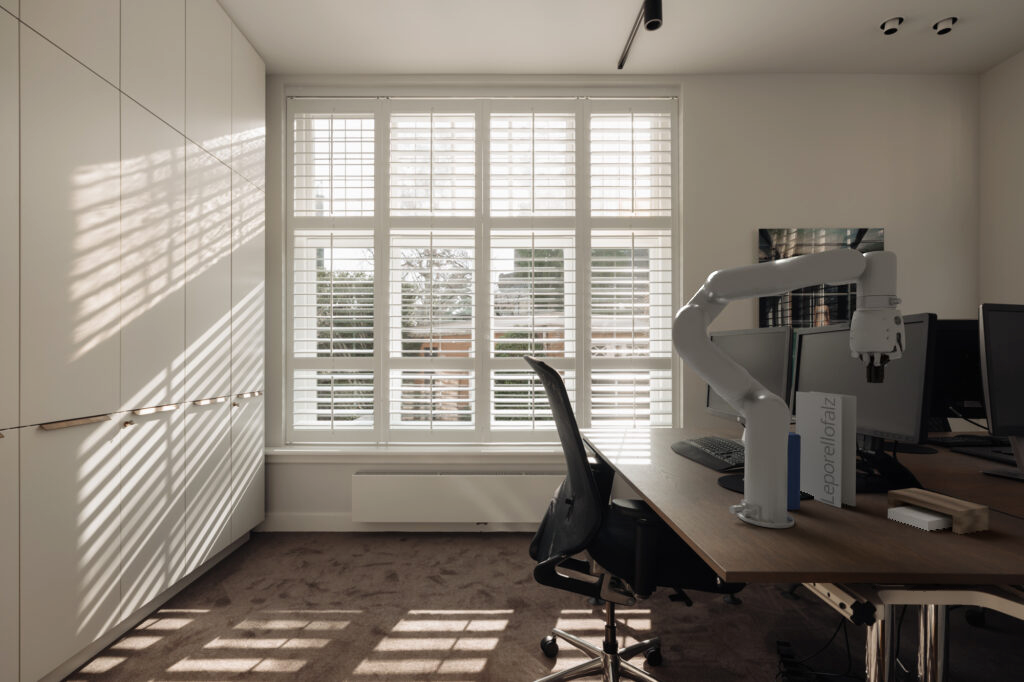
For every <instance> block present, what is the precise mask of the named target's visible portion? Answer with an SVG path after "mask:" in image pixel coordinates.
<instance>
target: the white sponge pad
mask: <svg viewBox="0 0 1024 682" xmlns="http://www.w3.org/2000/svg"><path fill="white" fill-rule="evenodd" d="M889 518H890V519H889ZM887 519H889V520H892V519H893V520H892V521H895V520H896V521H895V522H898V521H899V522H898V523H901V522H902V523H901V524H904V523H906V524H905V525H907V524H909V525H908V526H910V525H912V526H911V527H913V526H915V527H914V528H916V527H918V528H917V529H919V528H921V529H920V530H922V529H924V530H923V531H925V530H927V531H926V532H931V531H930V530H933V531H937V530H936V529H939V530H944V529H943V528H945V529H950V528H949V527H952V528H953V515H949V514H946V513H943V512H939V511H936V510H932V509H929V508H925V507H922V506H918V505H912V506H905V507H898V508H890V509H888V508H887Z"/></svg>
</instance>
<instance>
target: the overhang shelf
mask: <svg viewBox="0 0 1024 682" xmlns="http://www.w3.org/2000/svg"><path fill="white" fill-rule="evenodd" d="M912 505H918V506H922V507H925V508H929V509H932V510H936V511H939V512H943V513H946V514H949V515H953V527H952V533H953V532H955V533H954V534H956V533H958V534H957V535H959V534H962V535H965V534H964V533H968V534H971V533H970V532H973V533H977V532H976V531H979V532H984V531H983V530H985V531H988V530H989V516H990V515H989V514H990V513H989V512H990V511H989V509H990V508H989V506H987V505H983V504H980V503H979V504H978V503H975V502H971V501H967V500H963V499H960V498H956V497H951V496H948V495H944V494H940V493H936V492H933V491H932V492H931V491H928V490H925V489H920V488H917V487H910V488H902V489H897V490H895V489H894V490H888V491H887V510H888V509H890V508H898V507H905V506H912Z"/></svg>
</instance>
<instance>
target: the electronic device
mask: <svg viewBox="0 0 1024 682" xmlns="http://www.w3.org/2000/svg"><path fill="white" fill-rule="evenodd" d="M800 462H801V436H800V435H799V434H796V432H791V431H789V435H788V473H787V511H797V510H798V511H799V510H800V508H801V494H800Z"/></svg>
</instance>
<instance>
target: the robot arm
mask: <svg viewBox="0 0 1024 682" xmlns="http://www.w3.org/2000/svg"><path fill="white" fill-rule="evenodd" d="M897 261H898V257H897V254H896V253H895V252H893V251H890V250H875V251H869V252H868V251H867V252H865V253H862V252H861V251H859V249H855V248H848V247H845V248H837V249H830V250H824V251H818V252H811V253H806V254H802V255H798V256H793V257H787V258H781V259H776V260H772V261H766V262H760V263H753V264H746V265H740V266H734V267H726V268H723V269H718V270H715V271H713V272H712V273H710V274H709V276H707V277H706V280H705V282H704V283H703V285H702V286H701V287H700V288H699V289H698V291H696V293H695V294H694V295H693V296H692V298H691V299H690V300H689V301H688V302H687V303H686V304H685V305H683V306H681V307H680V308H679V309H678V310H677V312H676V314H675V316H674V319H673V323H672V328H671V329H672V330H671V331H672V332H671V338H672V341H673V342H672V343H673V345H674V346H673V347H674V348H675V350H676V352H677V354H678V356H679V357H680V358H681V359H682V361H683V362H684V363H685V364H686V365H687V366H688V367H689V368H690V369H691V370H692V371H694V373H695V374H696V375H698V376H699V377H700V378H701V379H702V380H703V381H704V382H706V383H707V385H708V386H709V387H711V389H712V390H713V392H715V394H716V395H718V396H719V397H721V399H723V400H724V401H725V402H726V403H728V404H729V406H731V407H732V408H733V409H734V410H736V411H737V412H738V413H739V414H740V415H742V417H743V418H744V419H745V433H744V434H745V435H744V483H743V484H744V488H743V490H744V491H743V492H744V493H743V494H744V496H743V497H744V498H743V499H740V503H739V504H738V505H737V504H735V505H729V507H728V511H729V513H730V514H732V515H734V514H737V517H738V518H739V519H740V520H742V521H744V522H746V523H748V524H752V525H755V526H757V527H763V528H770V529H788V528H792V527H793V526H794V525H795V519H794V517H793V516H792V515H790V514H789V513H788V510H787V473H788V435H789V432H790V425H791V414H790V413H791V412H790V409H789V406H788V404H787V403H786V402H785V400H784V399H783V398H782V397H780V396H779V395H778V394H777V395H776V394H775V393H773V392H771V391H770V390H768V389H767V388H766V387H765V386H764V385H762V384H761V383H760V381H758V380H757V379H756V378H754V377H753V376H752V375H751V374H750V373H749V371H748V370H747V369H746V368H745V367H743V366H742V365H741V364H738V363H737V362H736V361H735V360H733V359H732V358H731V357H729V356H728V355H727V354H726V353H725V352H723V351H722V350H721V348H719V347H718V346H717V345H716V344H715V343H714V342H713V341H712V340H711V339H710V337H709V336H708V332H707V330H708V327H709V326H710V325H711V324H712V323H713V322H714V321H715V319H716V318H717V317H718V316H719V315H721V313H722V311H724V309H725V308H726V307H727V306H728V305H729V304H730V303H731V302H734V301H735V302H736V301H741V300H751V299H755V298H757V299H758V298H762V297H763V298H764V297H773V296H777V295H778V296H779V295H782V294H786V293H789V292H792V291H795V290H799V289H802V288H808V287H812V286H818V285H824V284H825V285H827V286H828V285H829V286H841V285H850V284H856V307H855V308H856V310H854V311H853V315H852V319H851V324H850V332H849V348H850V350H851V355H850V356H851V357H853V358H857V359H859V360H861V362H862V363H863V365H864V366H865V369H866V375H865V376H866V383H869V384H883V383H884V379H885V367H886V366H888V363H890V361H892V360H896V359H901V358H902V356H903V355H902V353H903V352H904V351H906V333H905V324H904V318H903V315H902V312H901V310H900V309H897V308H898V305H900V304H902V298H900V297H898V296H897V290H898V289H897V286H898V285H897V282H898V281H897V279H898V276H897V274H898V271H897V269H898V268H897V267H898V262H897Z"/></svg>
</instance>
